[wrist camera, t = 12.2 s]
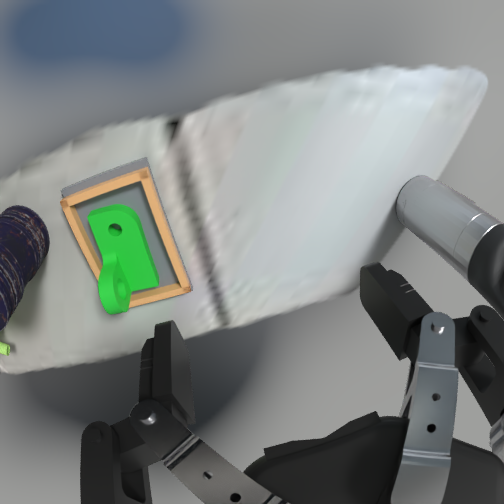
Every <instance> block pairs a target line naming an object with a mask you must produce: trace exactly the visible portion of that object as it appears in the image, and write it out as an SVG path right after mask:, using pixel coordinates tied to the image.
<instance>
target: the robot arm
mask: <svg viewBox="0 0 504 504" xmlns="http://www.w3.org/2000/svg"><path fill="white" fill-rule="evenodd" d="M396 211H397V216H398V219H399V221H400V222H401V223H402V224H403V225H404V226H406V227H407V228H408V229H409V230H410V231H412V232H413V233H414V234H415V235H416V236H417V237H419V238H420V239H421V240H422V241H423V242H425V243H426V244H427V245H428V246H429V247H430V248H432V249H433V250H434V251H435V252H436V253H437V254H438V255H440V256H441V257H442V258H443V259H444V260H445V261H446V262H447V263H448V264H450V265H451V266H452V267H453V268H454V269H455V270H456V271H457V272H459V273H460V274H461V275H462V276H463V277H464V278H465V279H466V280H467V281H468V282H469V283H470V284H471V285H472V286H473V287H474V288H475V289H476V290H477V291H478V292H479V293H480V294H481V295H482V296H483V297H484V298H485V299H486V300H487V301H488V302H489V303H490V305H491V306H493V308H494V309H495V310H496V311H497V312H498V313H499V314H498V313H497V312H496V311H495V310H494V309H493V308H491V307H489V306H485V305H479V306H476V307H474V308H473V309H472V311H471V313H470V316H469V317H463V318H456V319H452V318H451V317H449V316H448V315H447V314H445V313H442V312H434V311H433V310H432V309H431V308H430V306H429V305H428V304H427V303H426V302H425V301H424V299H423V298H422V297H421V296H420V295H419V294H418V293H417V292H416V290H414V288H413V287H412V286H411V285H410V284H408V282H407V281H406V280H405V279H404V277H403V276H402V275H401V274H399V273H397V272H395V271H393V270H389V271H386V269H385V268H384V267H383V266H382V265H381V264H380V263H379V262H375V263H372V264H369V265H366V266H363V267H361V271H360V299H361V302H362V305H363V306H364V308H365V310H366V311H367V312H368V314H369V315H370V317H371V319H372V320H373V321H374V323H375V324H376V326H377V327H378V329H379V330H380V332H381V333H382V335H383V336H384V338H385V339H386V341H387V342H388V344H389V345H390V347H391V348H392V350H393V352H394V353H395V355H396V356H397V358H398V359H399V360H402V359H404V358H406V357H408V358H409V359H410V361H411V362H410V366H409V372H408V378H407V384H406V389H405V394H404V399H403V403H402V407H401V410H400V413H399V417H396V416H383V417H379V416H378V414H377V412H376V411H374V412H372V413H370V414H367V415H365V416H362V417H360V418H357V419H355V420H353V421H350V422H348V423H347V424H345V425H344V426H342V427H341V428H339V429H338V430H336V431H335V432H333V433H331V434H330V435H328V436H327V437H325V438H321V439H310V440H298V441H290V442H287V443H283V444H279V445H276V446H272V447H268V448H264V453H265V455H264V456H262V457H260V458H259V459H257V460H256V461H255V462H253V463H252V464H251V465H250V466H248V467H247V468H246V470H245V471H244V472H241V471H240V470H238V469H237V468H236V467H235V466H233V465H232V464H231V463H229V462H228V461H227V460H226V459H224V458H223V457H222V456H221V455H219V454H218V453H217V452H216V451H214V450H213V449H212V448H211V447H210V446H208V445H207V444H206V443H205V442H203V440H201V439H200V438H199V437H198V436H196V435H194V434H192V432H190V431H189V430H188V426H187V425H188V424H194V423H195V414H194V404H193V393H192V382H191V369H190V357H189V352H188V348H187V346H186V343H185V341H184V340H183V338H182V336H181V334H180V332H179V330H178V328H177V326H176V324H175V322H174V321H173V320H171V321H167V322H163V323H159V324H156V325H155V332H154V338H150V339H147V340H146V342H145V344H144V346H143V348H142V354H141V361H142V362H141V370H140V385H139V402H138V403H137V404H136V405H135V406H134V407H133V408H132V410H131V412H130V416H129V417H128V418H126V419H124V420H122V421H120V422H118V423H116V424H113V425H111V426H109V425H108V424H106V423H105V422H102V421H96V422H93V423H91V424H89V425H88V426H87V427H86V428H85V430H84V431H83V434H82V439H81V467H80V471H81V472H80V478H81V479H80V488H81V489H80V490H81V504H152V497H151V490H150V482H149V474H148V466H149V465H151V464H153V463H156V462H158V461H160V460H162V461H163V462H164V465H165V466H166V467H167V468H168V469H169V470H170V472H171V473H172V474H173V475H175V477H176V478H177V479H178V480H180V481H181V482H182V483H183V484H184V485H185V486H186V487H187V488H188V489H189V490H190V491H191V492H192V493H193V494H194V495H195V496H197V497H198V498H199V499H200V500H201V501H202V502H203V503H204V504H504V320H503V319H504V223H502V222H501V221H499V220H498V219H496V218H495V217H493V216H492V215H490V214H489V213H487V212H486V211H484V210H483V209H481V208H480V207H478V206H477V205H476V204H475V202H474V201H472V200H470V199H468V198H467V197H466V196H464V195H462V194H460V193H459V192H457V191H455V190H454V189H452V188H450V187H449V186H447V185H445V184H443V183H442V182H440V181H438V180H436V181H435V180H433V179H431V178H429V177H427V176H417V177H415V178H412V179H411V180H410V181H408V182H407V184H406V185H405V186H404V187H403V189H402V190H401V192H400V194H399V196H398V200H397V206H396ZM499 315H500V316H501V317H502V318H503V319H502V318H501V317H500V316H499ZM486 355H487V356H488V357H487V356H486ZM489 359H490V360H489ZM491 362H492V363H491ZM493 365H494V366H493ZM458 371H459V372H460V374H461V375H462V377H463V378H464V380H465V382H466V383H467V385H468V387H469V388H470V390H471V392H472V393H473V395H474V397H475V398H476V400H477V402H478V403H479V405H480V407H481V409H482V410H483V412H484V414H485V416H486V418H487V419H488V421H489V423H490V425H491V427H492V428H491V430H490V447H491V448H492V452H491V451H487V450H485V449H482V448H479V447H477V446H474V445H471V444H468V443H465V442H463V441H460V440H458V439H455V438H453V436H452V435H453V430H454V422H455V412H456V403H457V391H458V390H457V389H458Z"/></svg>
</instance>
